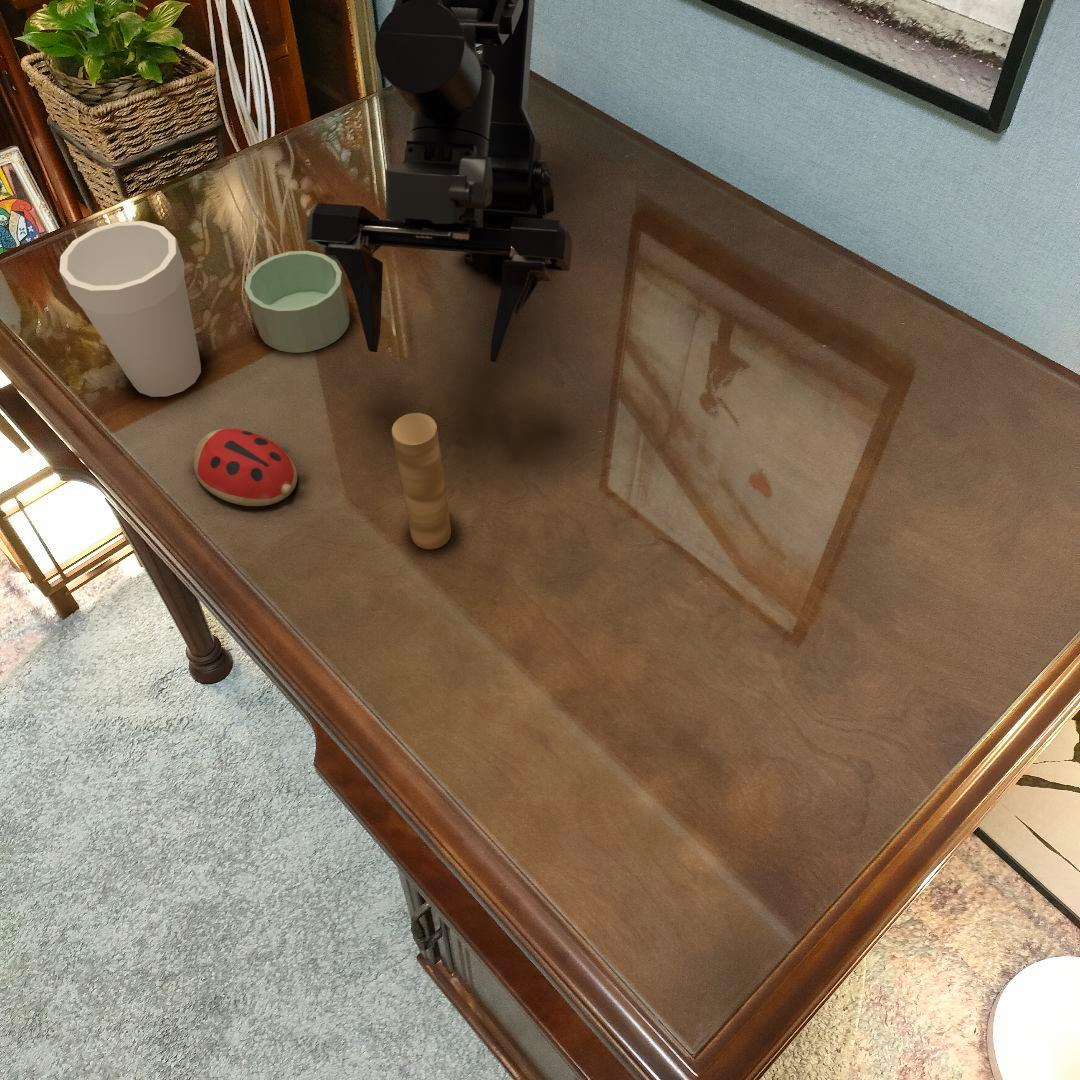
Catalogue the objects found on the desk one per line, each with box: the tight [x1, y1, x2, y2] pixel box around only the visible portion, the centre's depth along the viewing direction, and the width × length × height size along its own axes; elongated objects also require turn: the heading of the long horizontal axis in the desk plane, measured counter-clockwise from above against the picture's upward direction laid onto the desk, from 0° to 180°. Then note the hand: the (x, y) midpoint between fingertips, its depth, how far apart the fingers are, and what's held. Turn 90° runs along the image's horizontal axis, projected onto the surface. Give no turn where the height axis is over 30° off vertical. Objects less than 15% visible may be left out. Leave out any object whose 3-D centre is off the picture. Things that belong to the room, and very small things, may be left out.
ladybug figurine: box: [193, 428, 298, 507], centre depth 84 cm, size 7×10×4 cm
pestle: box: [391, 412, 452, 550], centre depth 77 cm, size 3×3×12 cm
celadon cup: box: [244, 250, 351, 354], centre depth 96 cm, size 9×9×5 cm
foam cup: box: [59, 220, 202, 398], centre depth 89 cm, size 10×9×13 cm
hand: (433, 356), depth 76 cm, fingers open, 9 cm apart
